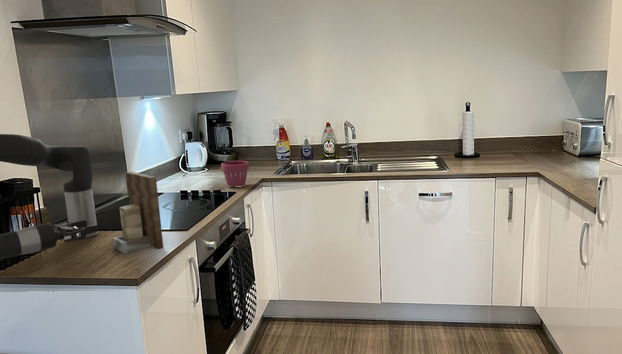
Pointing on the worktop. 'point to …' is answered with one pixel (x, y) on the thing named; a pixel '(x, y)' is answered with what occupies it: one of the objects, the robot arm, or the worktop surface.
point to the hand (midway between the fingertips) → (91, 225)
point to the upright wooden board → (143, 213)
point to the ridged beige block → (131, 222)
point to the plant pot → (235, 172)
